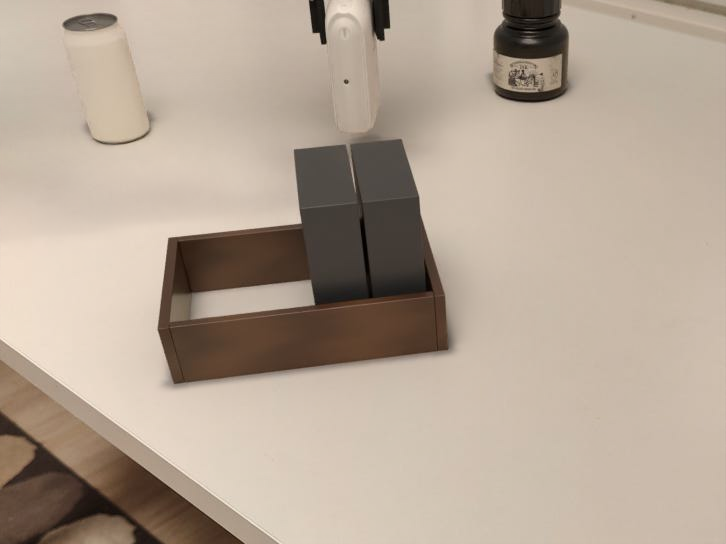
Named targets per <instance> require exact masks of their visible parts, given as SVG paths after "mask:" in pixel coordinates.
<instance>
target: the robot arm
mask: <svg viewBox="0 0 726 544" xmlns="http://www.w3.org/2000/svg"><path fill="white" fill-rule="evenodd" d="M372 3H373V14H374V28H375V34H376V41H379V42H385V40H386V37H385V35H386V33H385V30H389V29H391V15H390V13H391V12H390V0H372ZM308 7H309V16H310V24H311V33H312V34H319V40H320V45H321V46H323V45H326V46H327V40H326V30H325V16H326V5H325V0H308Z"/></svg>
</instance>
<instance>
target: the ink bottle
mask: <svg viewBox="0 0 726 544" xmlns="http://www.w3.org/2000/svg"><path fill="white" fill-rule="evenodd" d="M561 9H562V0H501V10H502V11H501V14H502V17H503V18H504V19H503V20H502V22H501V23H500V24H499V25H498V26H497V27H496V28H495V30H494V32H493V38H492V39H493V40H492V42H493V44H492V45H493V48H492V80H493V88H494V90H495V92H496V93H497V94H499V95H500V96H502V97H505V98H508V99H513V100H518V101H519V100H520V101H545V100H549V99H552V98H555V97H558V96H560V95H561V94H563V92H565V90H566V88H567V87H568V73H569V50H570V49H569V48H570V32H569V30H568V28H567V26H566V25H565V24H564V23H562V21H561V19H560V16H561V13H562V11H561Z"/></svg>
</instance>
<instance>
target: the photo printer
mask: <svg viewBox="0 0 726 544" xmlns="http://www.w3.org/2000/svg"><path fill="white" fill-rule="evenodd" d="M325 14H326V16H325V30H326V40H327V44H326V48H327V59H328V67H329V79H330V87H331V97H332V106H333V116H334V117H333V118H334V123H335V127H336V129H337V130H340V132H341V133H344V134H349V135H351V134H353V135H354V134H356V135H357V134H364V133H365V134H366V133H367V132H368V131H369V130H372V129H373V127H374V125H375V122H376V120H377V115H378V112H379V111H378V110H379V104H380V96H381V91H380V88H381V87H380V77H379V76H380V73H379V72H380V71H379V70H380V69H379V57H378V43H377V37H376V34H375V28H374V14H373V3H372V0H328V3H327V6H326V9H325Z"/></svg>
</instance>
